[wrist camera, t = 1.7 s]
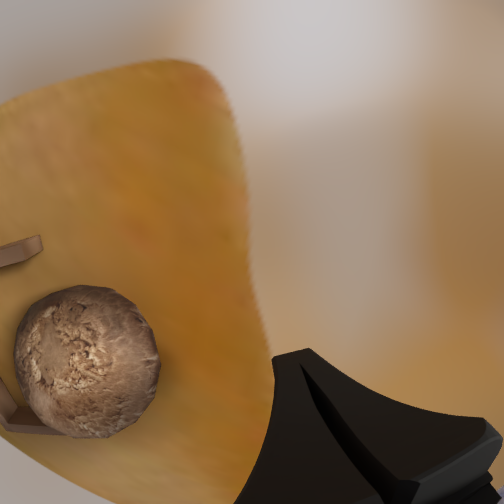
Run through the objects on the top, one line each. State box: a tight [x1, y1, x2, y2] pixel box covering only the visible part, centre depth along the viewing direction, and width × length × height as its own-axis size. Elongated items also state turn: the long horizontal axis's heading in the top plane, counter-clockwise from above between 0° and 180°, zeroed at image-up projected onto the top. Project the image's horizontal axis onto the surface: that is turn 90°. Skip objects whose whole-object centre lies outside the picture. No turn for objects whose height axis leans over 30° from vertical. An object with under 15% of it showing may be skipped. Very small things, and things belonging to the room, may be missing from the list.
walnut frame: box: [0, 235, 66, 435], centre depth 14 cm, size 12×9×2 cm
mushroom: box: [14, 285, 161, 438], centre depth 13 cm, size 8×8×6 cm
